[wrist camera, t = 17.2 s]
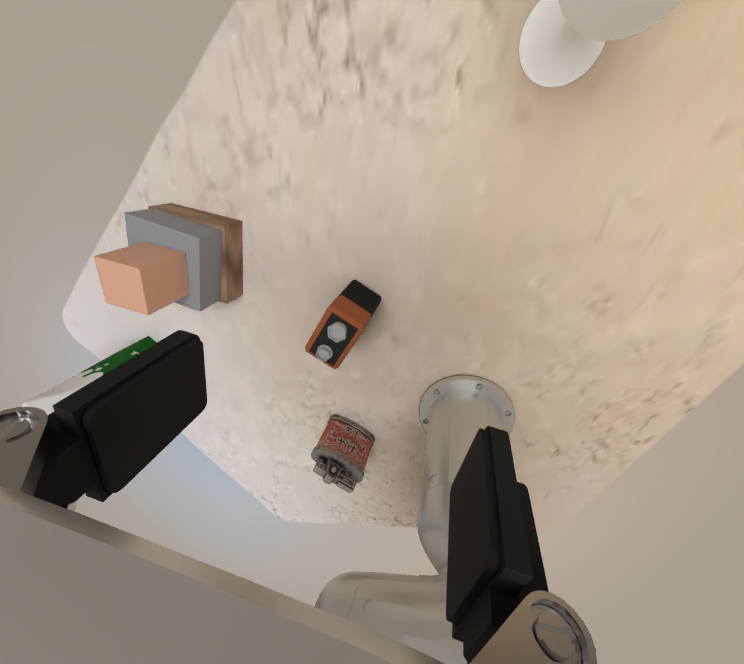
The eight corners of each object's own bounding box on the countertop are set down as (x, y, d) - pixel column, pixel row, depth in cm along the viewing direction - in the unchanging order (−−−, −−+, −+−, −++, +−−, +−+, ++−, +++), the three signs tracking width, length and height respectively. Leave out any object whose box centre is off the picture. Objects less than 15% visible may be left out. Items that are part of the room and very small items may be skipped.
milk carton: (128, 358, 58) (-14, 441, 41) (146, 328, 54) (-4, 408, 36) (168, 391, 59) (48, 486, 42) (189, 365, 55) (65, 458, 38)
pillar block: (190, 293, 39) (148, 315, 34) (152, 283, 39) (106, 302, 34) (185, 252, 36) (139, 268, 31) (145, 241, 37) (93, 256, 32)
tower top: (221, 299, 43) (200, 311, 40) (159, 277, 44) (133, 287, 40) (222, 231, 39) (199, 238, 35) (154, 208, 39) (124, 212, 36)
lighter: (326, 423, 54) (300, 473, 45) (334, 410, 52) (309, 459, 43) (368, 447, 54) (351, 502, 45) (378, 435, 52) (362, 490, 44)
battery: (383, 296, 42) (362, 332, 33) (357, 335, 45) (332, 376, 36) (354, 277, 41) (325, 308, 33) (330, 317, 45) (298, 354, 36)
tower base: (244, 292, 47) (227, 303, 43) (181, 275, 48) (159, 284, 44) (243, 220, 42) (224, 225, 38) (173, 202, 43) (148, 206, 40)
